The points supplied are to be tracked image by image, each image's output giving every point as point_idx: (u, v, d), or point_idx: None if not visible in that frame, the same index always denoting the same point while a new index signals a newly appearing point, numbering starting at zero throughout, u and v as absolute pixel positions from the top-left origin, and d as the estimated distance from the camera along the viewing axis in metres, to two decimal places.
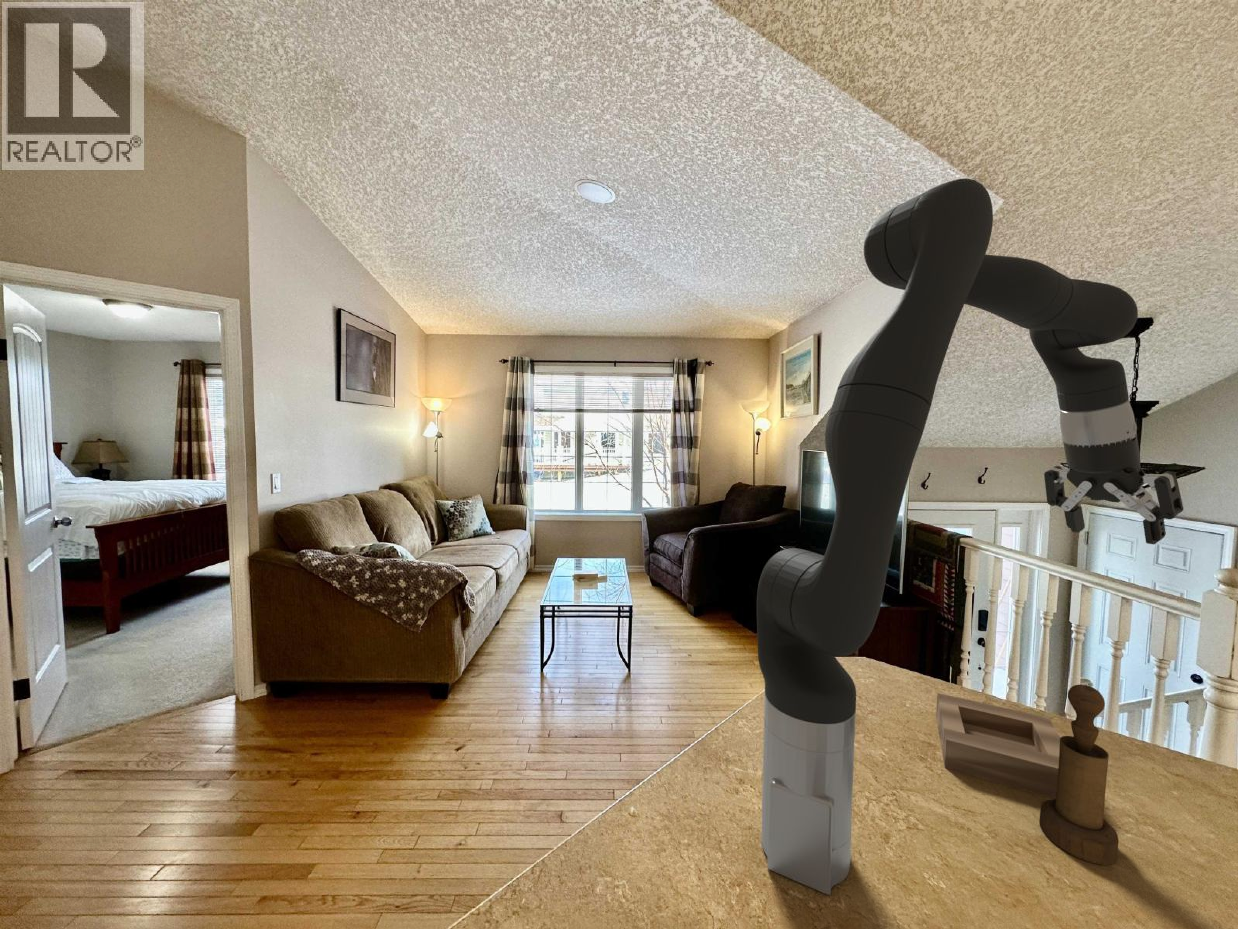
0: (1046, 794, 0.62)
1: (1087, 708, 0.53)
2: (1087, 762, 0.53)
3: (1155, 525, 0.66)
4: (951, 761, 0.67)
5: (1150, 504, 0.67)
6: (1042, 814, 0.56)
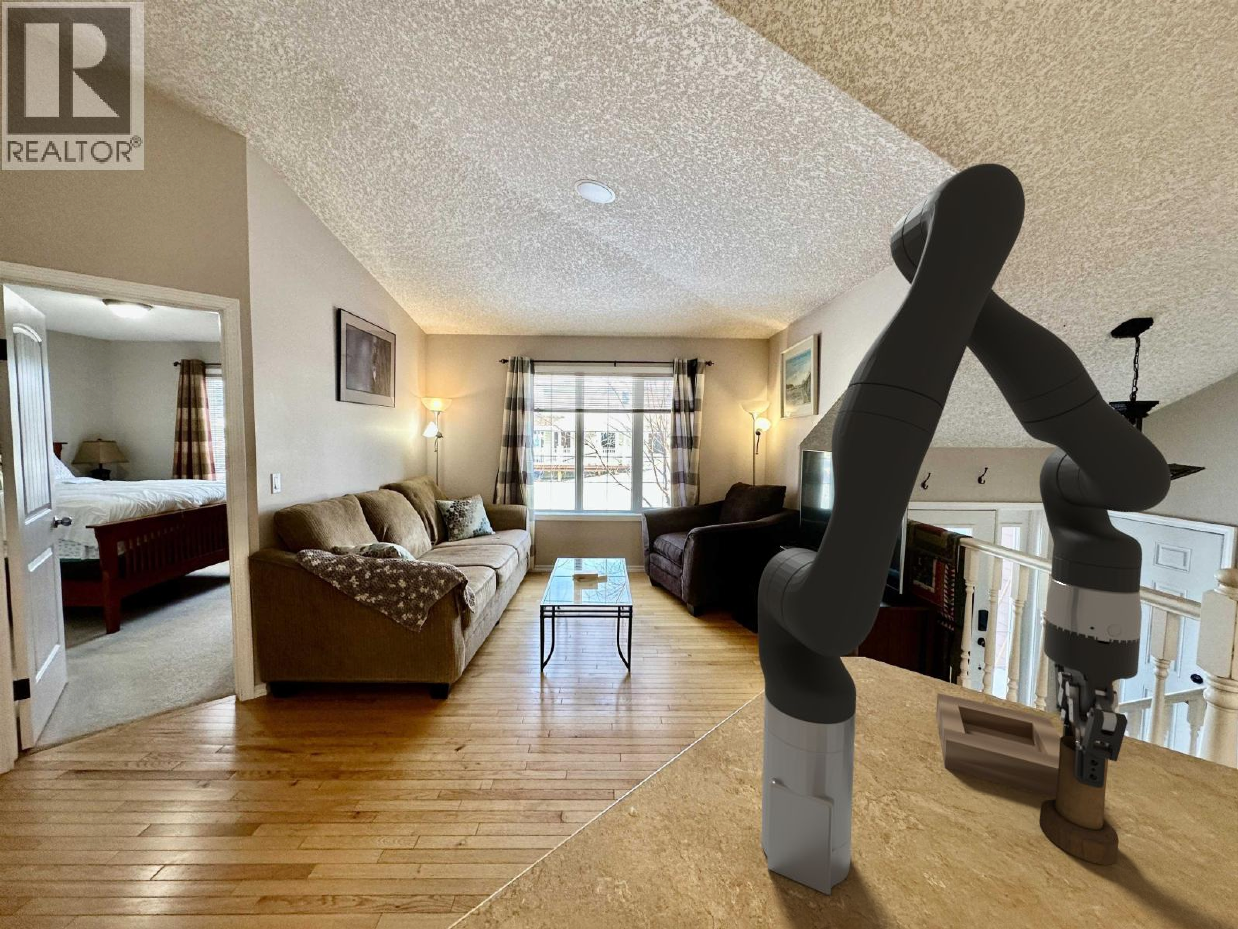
0: (1046, 794, 0.62)
1: None
2: None
3: (1084, 759, 0.52)
4: (951, 761, 0.67)
5: None
6: (1042, 814, 0.56)
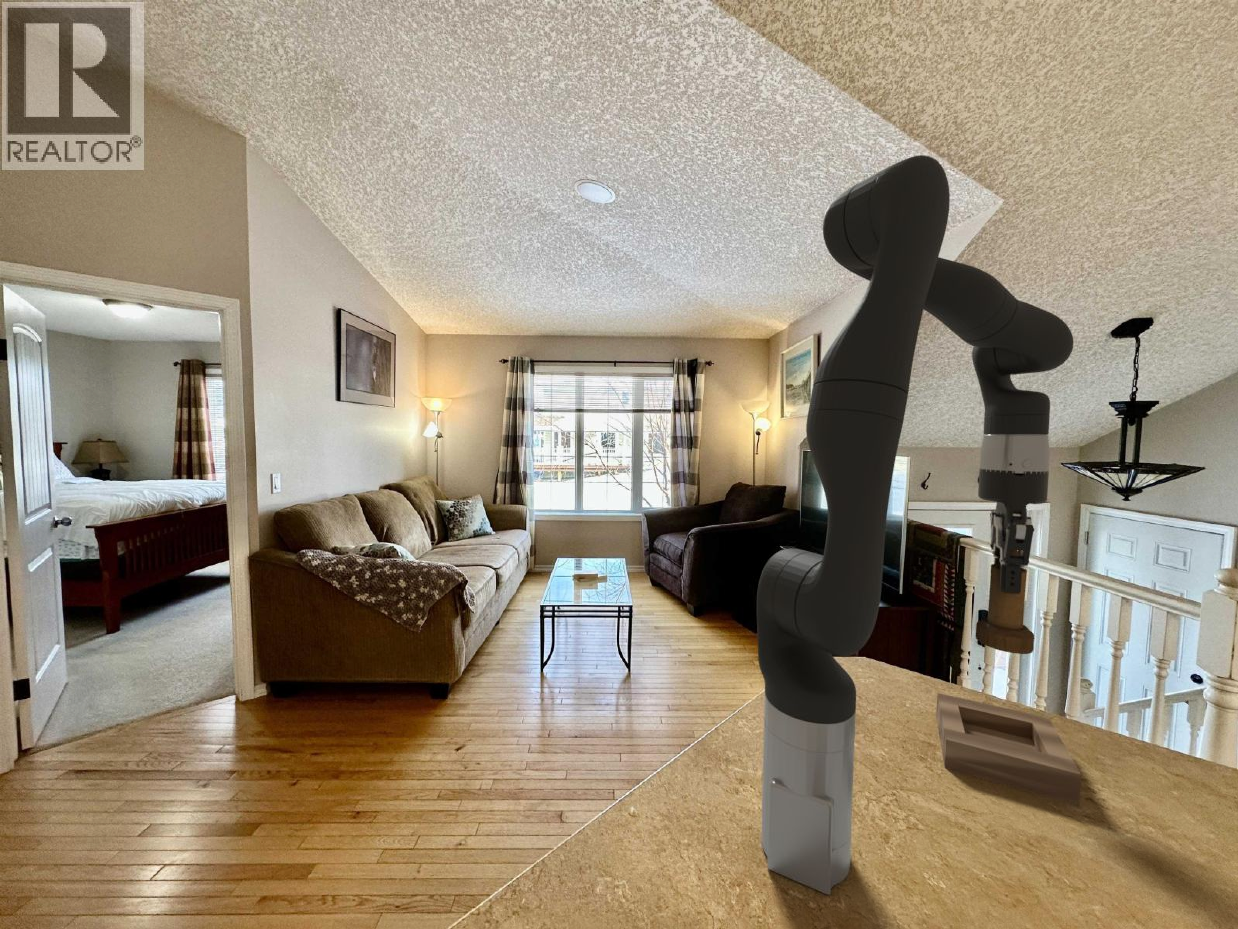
0: (1046, 794, 0.62)
1: None
2: None
3: (1005, 571, 0.66)
4: (951, 761, 0.67)
5: (1019, 553, 0.65)
6: (977, 626, 0.70)
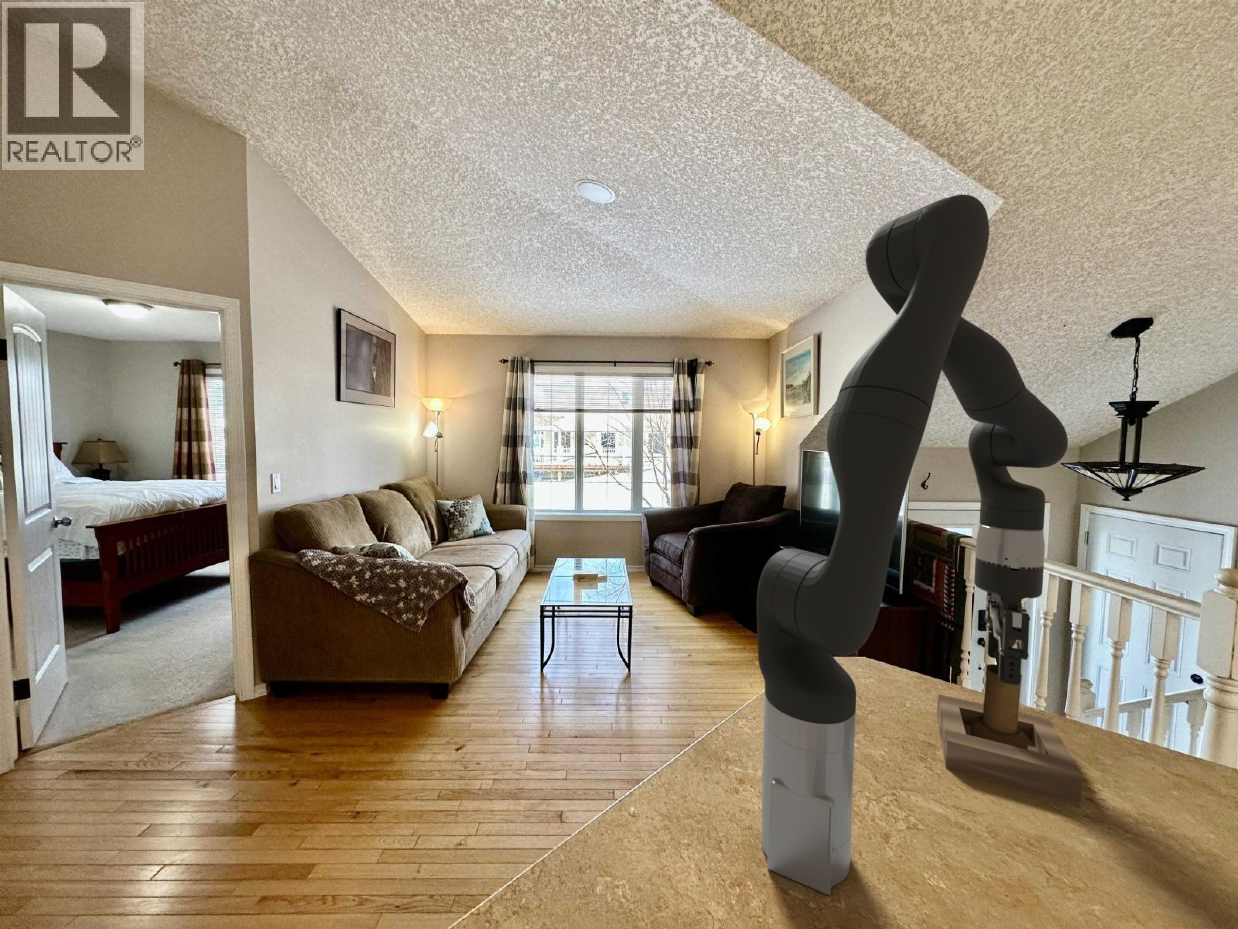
0: (1047, 795, 0.62)
1: None
2: None
3: (1004, 662, 0.65)
4: (952, 762, 0.67)
5: (1018, 644, 0.65)
6: (972, 726, 0.71)
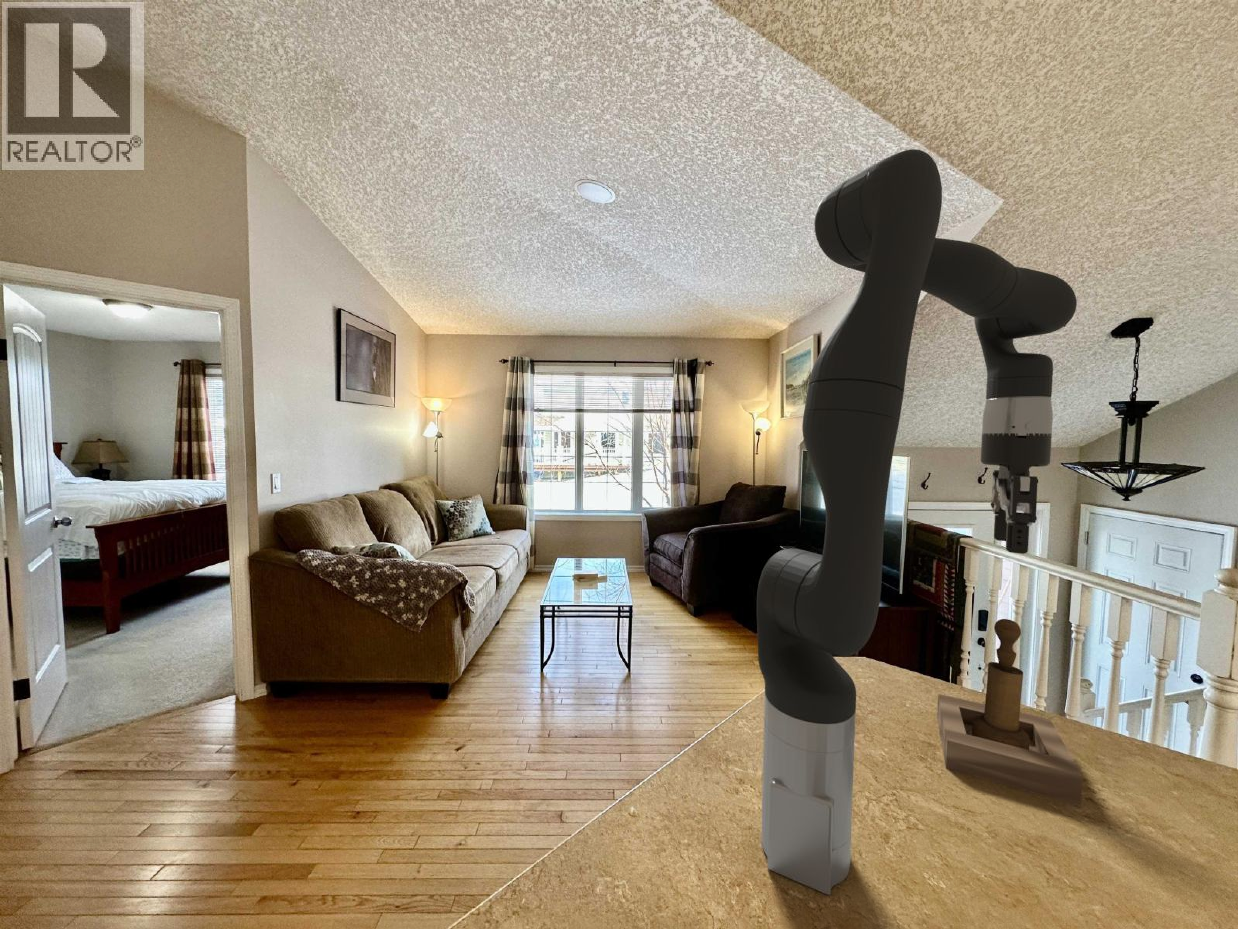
0: (1047, 795, 0.62)
1: (1008, 635, 0.68)
2: (1008, 677, 0.68)
3: (1012, 530, 0.64)
4: (952, 762, 0.67)
5: (1025, 512, 0.64)
6: (974, 725, 0.70)
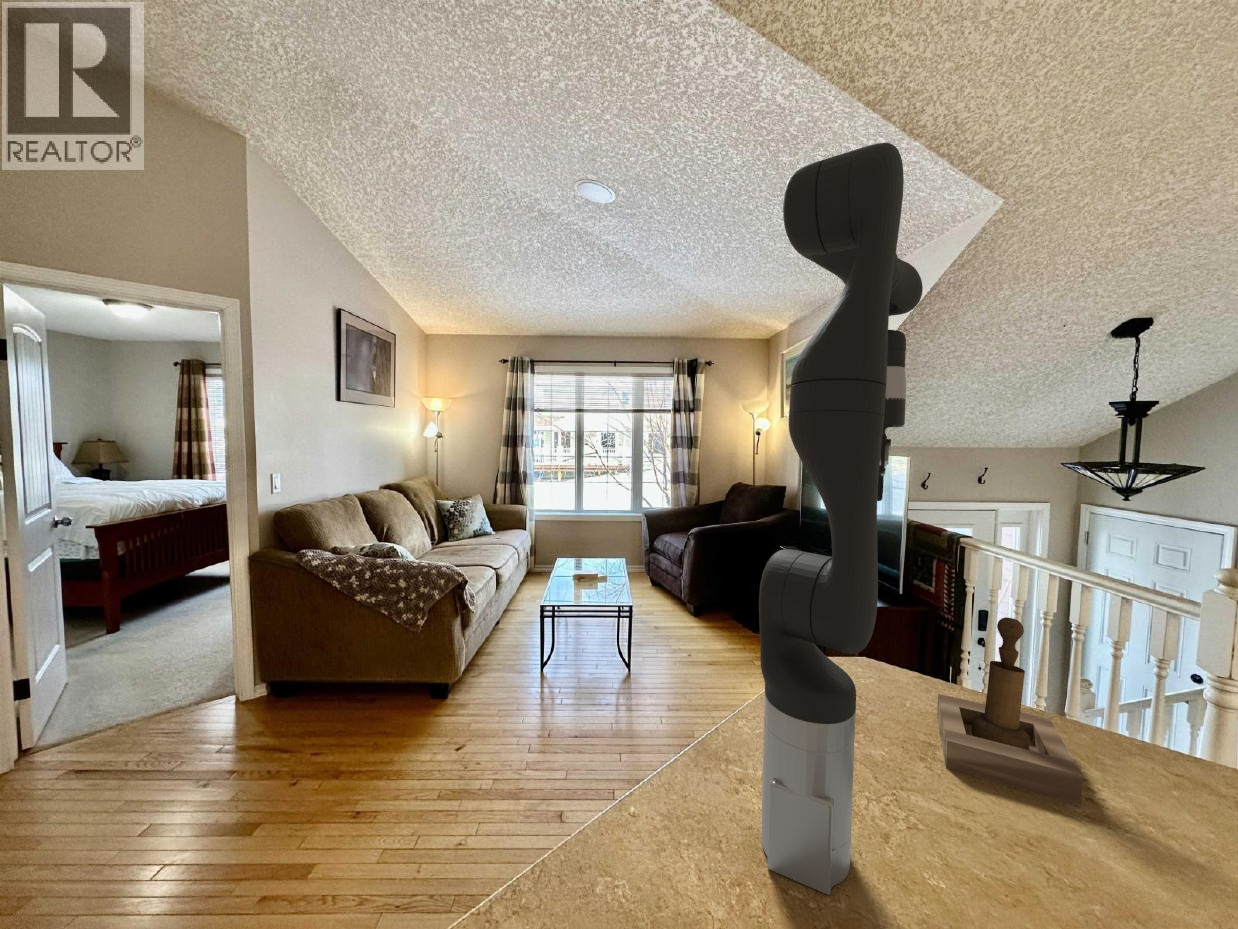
0: (1047, 795, 0.62)
1: (1013, 633, 0.69)
2: (1013, 676, 0.68)
3: None
4: (952, 763, 0.67)
5: None
6: (977, 725, 0.70)
